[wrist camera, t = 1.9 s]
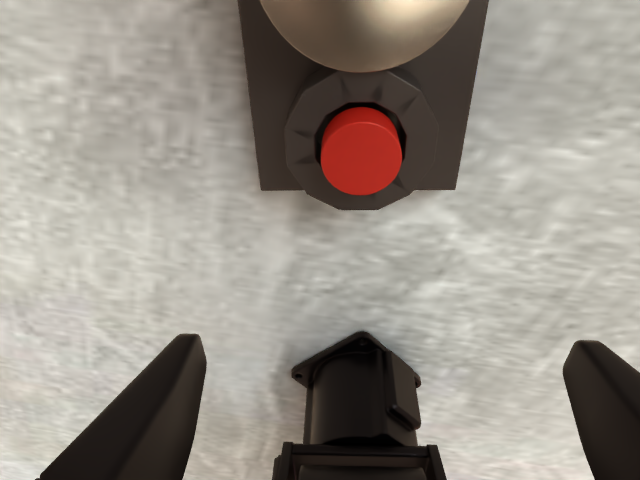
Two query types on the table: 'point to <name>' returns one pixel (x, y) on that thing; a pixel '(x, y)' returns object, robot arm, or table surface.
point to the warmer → (359, 91)
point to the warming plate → (363, 29)
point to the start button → (360, 151)
